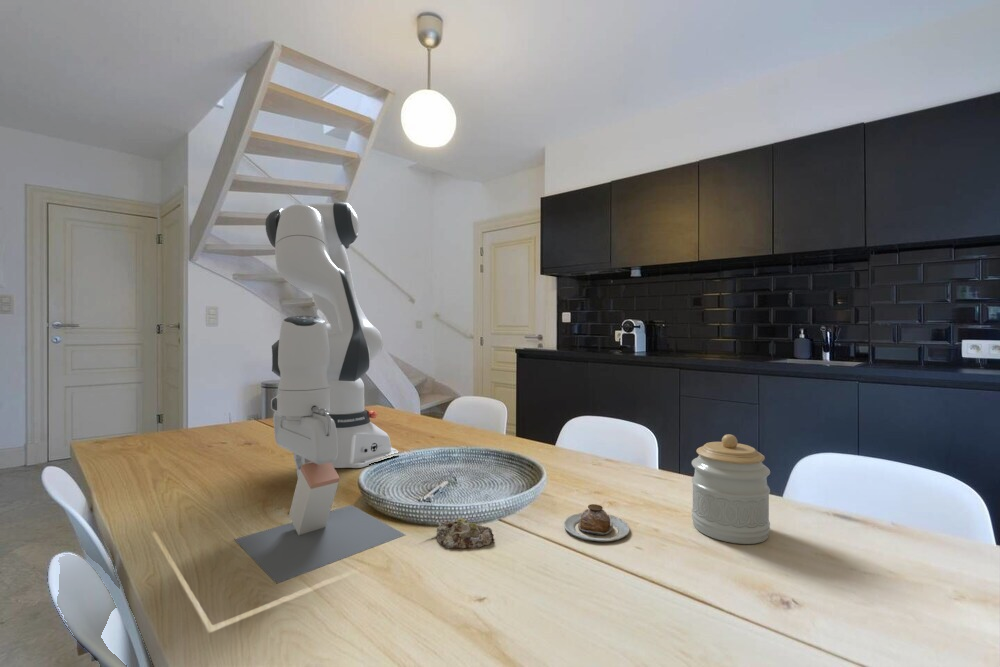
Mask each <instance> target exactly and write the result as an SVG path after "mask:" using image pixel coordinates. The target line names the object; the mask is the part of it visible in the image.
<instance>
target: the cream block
mask: <svg viewBox="0 0 1000 667" xmlns="http://www.w3.org/2000/svg"><path fill="white" fill-rule="evenodd" d="M340 480H341V478H340V475H339V474H338V472H337V470H336V468H334V467H333V465H332V464H331V462H329V463H324V464H316V463H314V462H313V463H308V464H303V465H301V468H300V472H299V476H297V481H296V485H295V490H294V492H293V497H292V502H291V505H290V510H289V513H288V516H289V518H290V520H291V523H292V522H293V525H294V527H295V529H296V531H297V533H298V535H301V534H304V533H308V532H311V531H314V530H317V529H320V528H323V527H326V524H327V521H328V517H329V514H330V511H332V506H333V505H334V504H333V503H334V499H335V497H336V493H337V489H338V485H339V484H340V483H339V482H340Z"/></svg>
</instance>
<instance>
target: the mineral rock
mask: <svg viewBox="0 0 1000 667" xmlns="http://www.w3.org/2000/svg"><path fill="white" fill-rule="evenodd" d="M495 540H496V539H495V538H494V533H493V530H492V528H491V527H489V526H483V525H482V524H480V523H479V524H478V523H473V522H468V520H467V519H465V518H464V517H458V518H457V520H453V521H448V520H446V521H443V522H438V527H437V529H436V541H437V542H438V543H439V544H440V545H442V546H444V548H447V549H461V550H462V549H463V550H464V549H467V548H469V549H479V548H482V547H484V546H489V545H491V543H494V542H495Z"/></svg>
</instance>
